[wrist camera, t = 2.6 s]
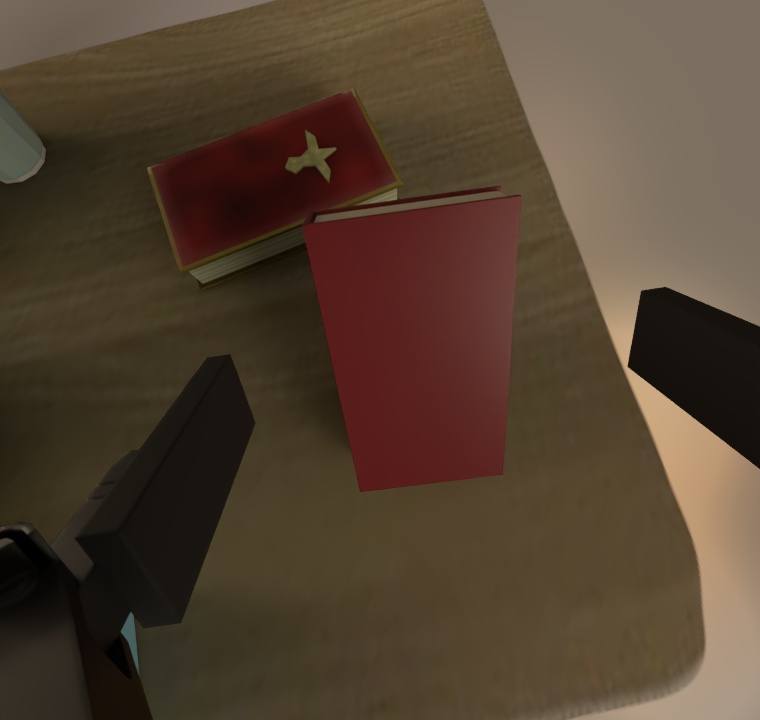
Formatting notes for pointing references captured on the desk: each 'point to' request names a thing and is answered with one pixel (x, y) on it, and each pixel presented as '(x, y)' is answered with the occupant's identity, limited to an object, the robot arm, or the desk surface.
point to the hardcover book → (269, 187)
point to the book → (420, 330)
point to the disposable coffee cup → (18, 145)
